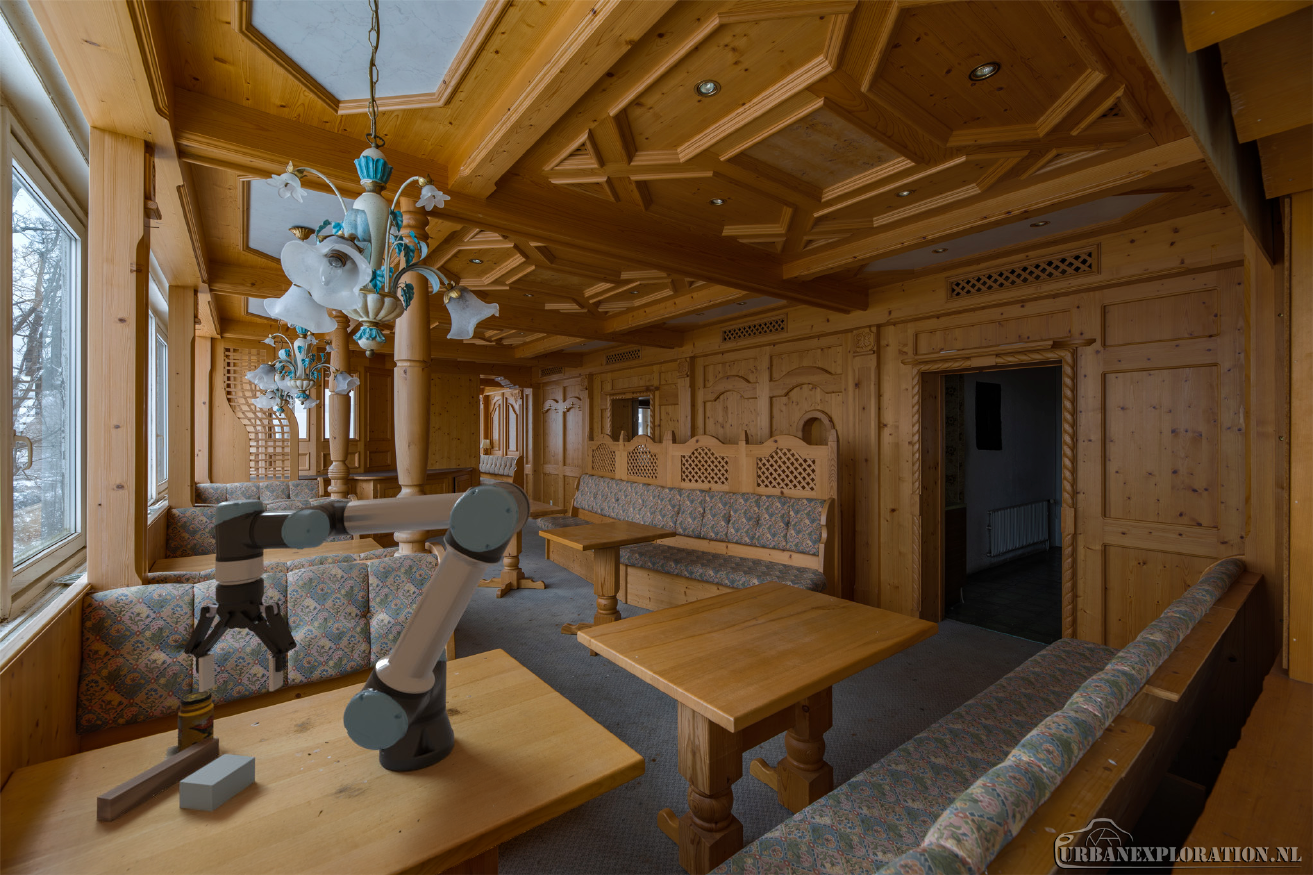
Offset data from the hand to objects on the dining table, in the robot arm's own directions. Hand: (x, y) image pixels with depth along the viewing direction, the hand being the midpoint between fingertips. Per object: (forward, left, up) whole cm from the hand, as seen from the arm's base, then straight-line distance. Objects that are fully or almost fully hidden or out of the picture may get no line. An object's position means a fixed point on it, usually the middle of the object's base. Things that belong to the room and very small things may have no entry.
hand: (241, 688), depth 106 cm
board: (+16, +2, -20) cm, 26 cm away
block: (+3, +2, -20) cm, 20 cm away
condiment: (+23, -9, -20) cm, 32 cm away
